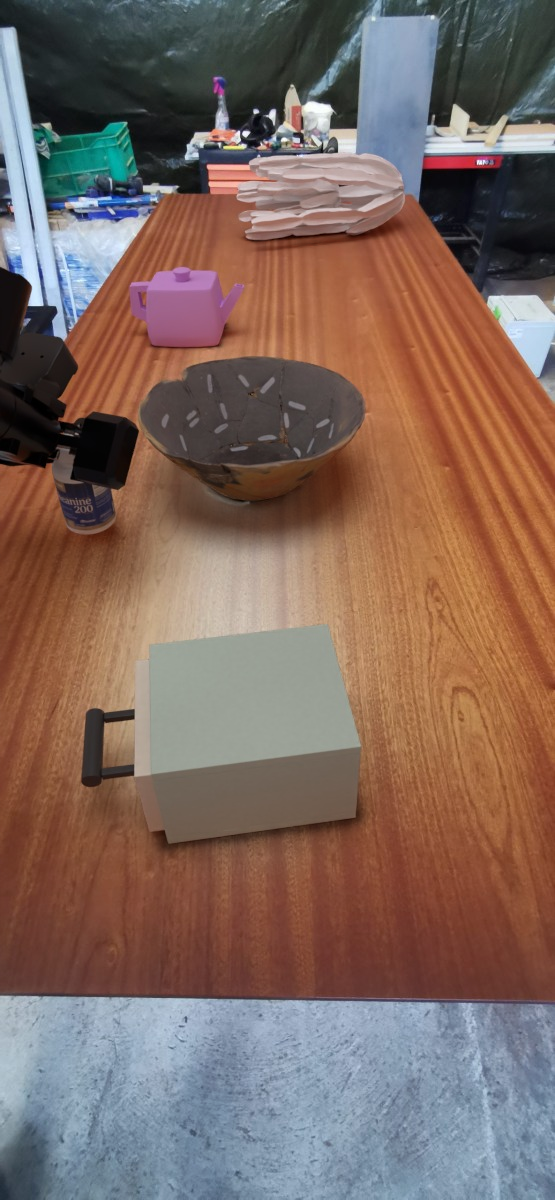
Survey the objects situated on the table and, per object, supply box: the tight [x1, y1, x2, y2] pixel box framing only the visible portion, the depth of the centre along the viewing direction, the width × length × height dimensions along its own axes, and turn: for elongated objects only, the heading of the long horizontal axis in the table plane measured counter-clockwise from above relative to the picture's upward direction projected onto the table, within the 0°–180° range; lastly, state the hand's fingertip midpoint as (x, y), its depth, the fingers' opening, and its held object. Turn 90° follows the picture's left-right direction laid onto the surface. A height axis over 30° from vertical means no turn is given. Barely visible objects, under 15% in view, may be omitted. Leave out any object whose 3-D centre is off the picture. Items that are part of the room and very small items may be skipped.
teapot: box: [128, 266, 245, 348], centre depth 115 cm, size 18×10×10 cm, turn 86°
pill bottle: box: [51, 432, 117, 535], centre depth 76 cm, size 5×5×10 cm
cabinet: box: [148, 623, 362, 845], centre depth 54 cm, size 14×12×9 cm
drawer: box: [80, 658, 165, 833], centre depth 54 cm, size 17×10×7 cm, turn 98°
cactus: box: [235, 151, 406, 241], centre depth 151 cm, size 17×18×35 cm
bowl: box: [137, 355, 366, 502], centre depth 83 cm, size 25×25×10 cm
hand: (87, 461), depth 76 cm, fingers closed on pill bottle, 5 cm apart
